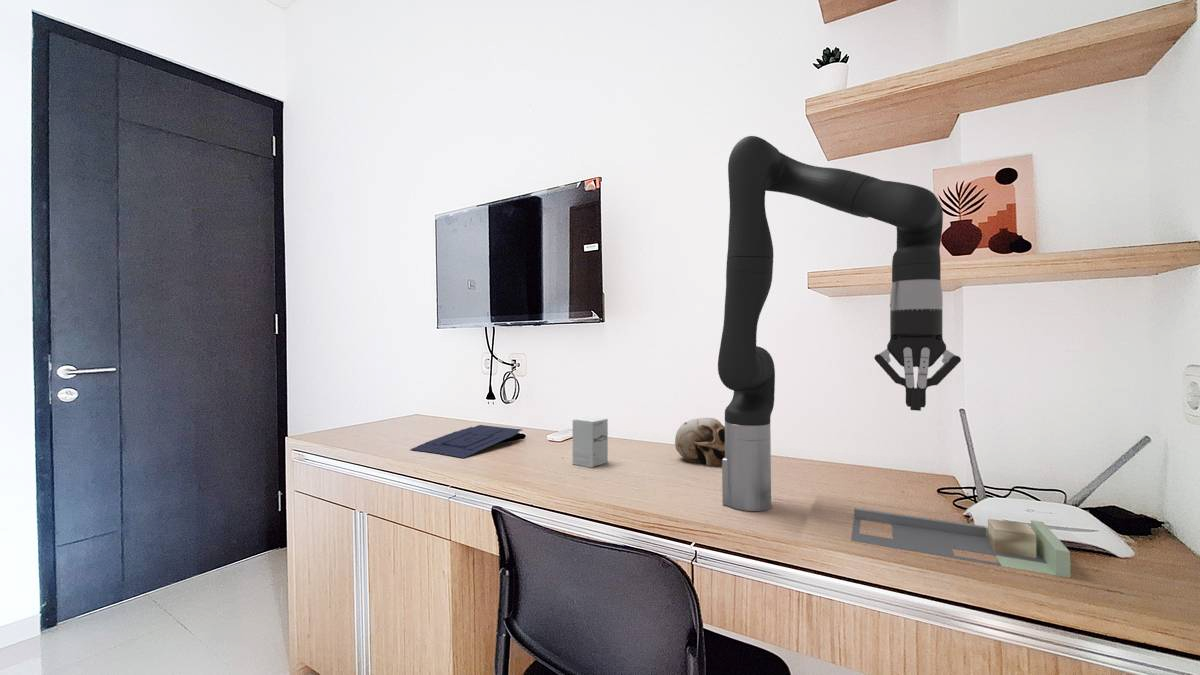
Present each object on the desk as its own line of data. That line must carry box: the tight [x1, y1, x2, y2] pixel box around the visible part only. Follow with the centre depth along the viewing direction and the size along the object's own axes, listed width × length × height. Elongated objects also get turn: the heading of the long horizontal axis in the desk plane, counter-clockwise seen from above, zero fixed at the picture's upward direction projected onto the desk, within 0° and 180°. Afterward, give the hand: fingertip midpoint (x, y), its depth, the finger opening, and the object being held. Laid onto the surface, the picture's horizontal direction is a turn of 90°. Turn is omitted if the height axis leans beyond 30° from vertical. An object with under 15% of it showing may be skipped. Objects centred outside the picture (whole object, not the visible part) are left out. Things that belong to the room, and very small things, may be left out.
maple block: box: [987, 518, 1036, 558], centre depth 78 cm, size 5×5×4 cm
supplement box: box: [572, 416, 609, 469], centre depth 141 cm, size 7×7×13 cm
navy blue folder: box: [409, 424, 524, 459], centre depth 167 cm, size 24×30×4 cm
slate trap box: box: [850, 507, 1071, 578], centre depth 81 cm, size 27×13×5 cm, turn 61°
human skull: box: [674, 417, 725, 468], centre depth 143 cm, size 16×17×13 cm
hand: (915, 409), depth 85 cm, fingers closed
